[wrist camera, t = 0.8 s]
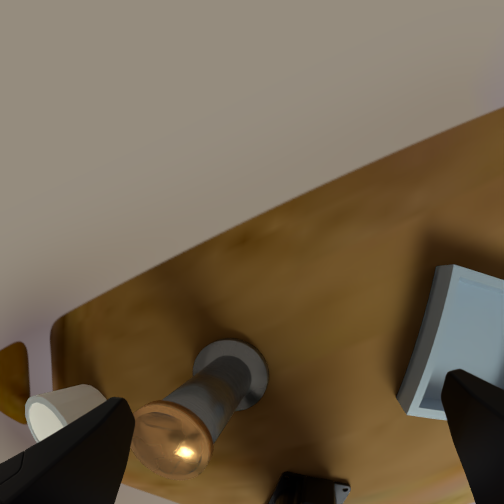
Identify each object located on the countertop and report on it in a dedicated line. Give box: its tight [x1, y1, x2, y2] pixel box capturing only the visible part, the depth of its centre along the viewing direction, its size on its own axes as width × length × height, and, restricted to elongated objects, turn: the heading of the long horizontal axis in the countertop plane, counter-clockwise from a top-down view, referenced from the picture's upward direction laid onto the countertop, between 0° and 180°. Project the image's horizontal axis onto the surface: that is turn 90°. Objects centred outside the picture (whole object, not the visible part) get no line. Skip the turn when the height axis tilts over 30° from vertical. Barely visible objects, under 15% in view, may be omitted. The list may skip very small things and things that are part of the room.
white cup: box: [25, 384, 106, 443], centre depth 23 cm, size 7×7×7 cm
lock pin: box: [131, 338, 269, 480], centre depth 18 cm, size 6×6×12 cm
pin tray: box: [396, 264, 504, 420], centre depth 19 cm, size 11×11×4 cm
